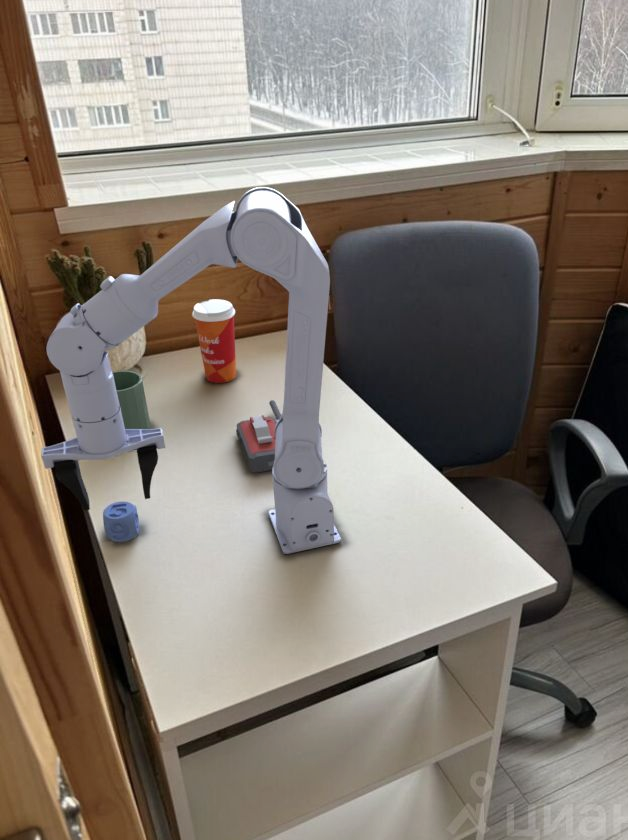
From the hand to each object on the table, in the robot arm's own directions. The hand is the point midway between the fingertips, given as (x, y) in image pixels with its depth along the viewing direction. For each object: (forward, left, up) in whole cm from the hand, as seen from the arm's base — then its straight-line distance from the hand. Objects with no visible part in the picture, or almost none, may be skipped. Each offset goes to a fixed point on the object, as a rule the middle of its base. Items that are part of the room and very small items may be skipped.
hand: (117, 500), depth 95 cm
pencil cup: (+27, -2, -6) cm, 28 cm away
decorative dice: (0, 0, -6) cm, 6 cm away
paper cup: (+42, -20, -6) cm, 47 cm away
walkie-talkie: (+17, -23, -6) cm, 30 cm away
